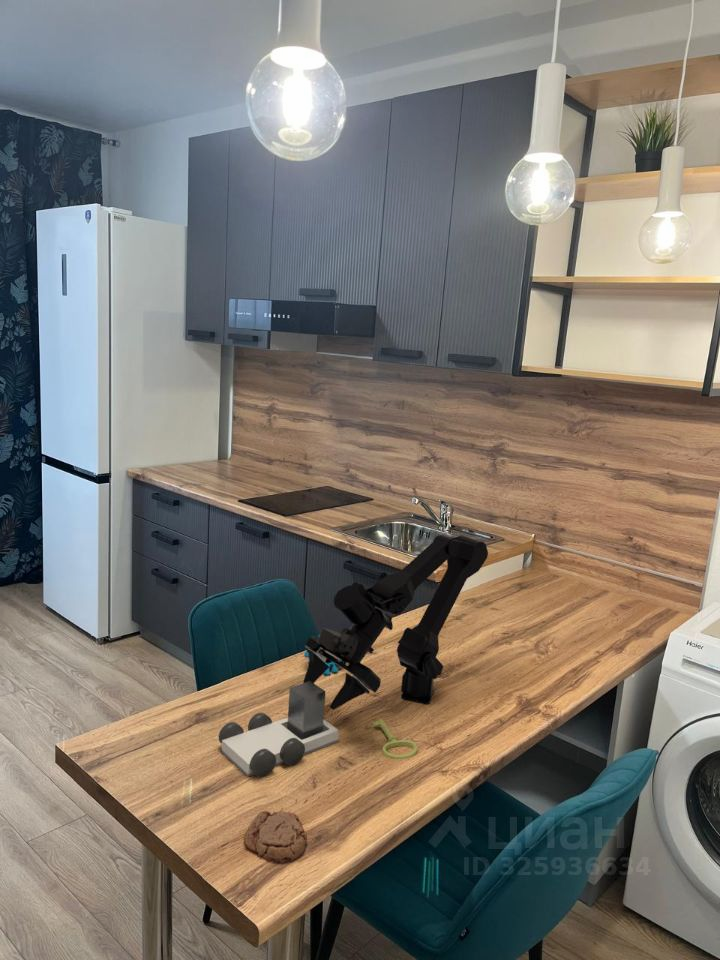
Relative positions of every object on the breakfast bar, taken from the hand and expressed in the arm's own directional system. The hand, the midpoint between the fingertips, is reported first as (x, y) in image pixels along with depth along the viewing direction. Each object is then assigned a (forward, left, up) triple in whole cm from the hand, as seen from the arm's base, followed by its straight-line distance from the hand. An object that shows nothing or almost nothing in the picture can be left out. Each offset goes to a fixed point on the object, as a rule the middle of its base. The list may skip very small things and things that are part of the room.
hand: (316, 698), depth 145 cm
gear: (+8, -29, -8) cm, 31 cm away
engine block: (+1, +2, -7) cm, 8 cm away
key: (-15, -3, -8) cm, 18 cm away
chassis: (+4, +7, -8) cm, 11 cm away
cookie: (-5, +31, -8) cm, 33 cm away
